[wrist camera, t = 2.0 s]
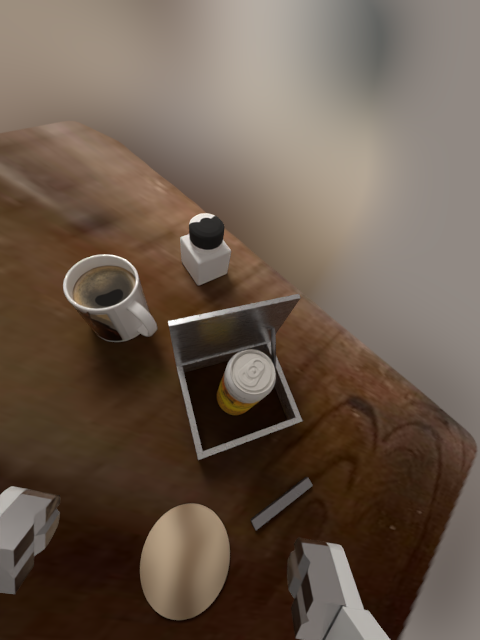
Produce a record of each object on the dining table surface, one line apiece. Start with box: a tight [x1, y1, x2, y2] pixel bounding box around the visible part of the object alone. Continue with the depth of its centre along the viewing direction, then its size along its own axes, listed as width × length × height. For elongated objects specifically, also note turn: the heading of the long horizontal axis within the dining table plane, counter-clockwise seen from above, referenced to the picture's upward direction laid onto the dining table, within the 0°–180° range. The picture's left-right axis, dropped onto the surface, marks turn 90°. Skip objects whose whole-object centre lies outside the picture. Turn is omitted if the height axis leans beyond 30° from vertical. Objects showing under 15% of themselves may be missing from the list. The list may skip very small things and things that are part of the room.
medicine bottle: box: [180, 214, 231, 286], centre depth 48 cm, size 7×7×12 cm
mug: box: [63, 255, 157, 342], centre depth 40 cm, size 10×12×11 cm
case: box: [168, 294, 302, 460], centre depth 35 cm, size 16×14×18 cm
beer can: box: [217, 350, 276, 415], centre depth 36 cm, size 6×6×15 cm
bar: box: [250, 477, 313, 530], centre depth 36 cm, size 10×1×1 cm, turn 120°
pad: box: [140, 503, 230, 620], centre depth 32 cm, size 11×11×1 cm
